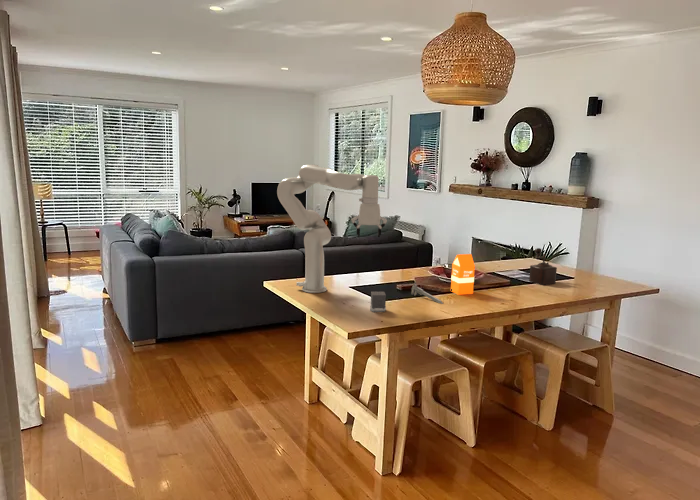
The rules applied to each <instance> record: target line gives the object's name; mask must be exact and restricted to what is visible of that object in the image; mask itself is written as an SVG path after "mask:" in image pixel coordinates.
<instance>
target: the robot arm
mask: <svg viewBox="0 0 700 500" xmlns="http://www.w3.org/2000/svg"><path fill="white" fill-rule="evenodd" d="M379 180H380V179H379V176H378V175H376V174H361V173H351V174H350V173H344V172H338V171H335V170H334V169H332V168H329V167H323V166H319V164H318V165H317V164H305V165H302V166H301V167H300V168H299V171H298V176H294V177H286V178H284V179H282V180H281V181H280V182H279V183H278V186H277V190H276V194H277V198H278V200H279V202H280V204H281V205H282V207H283V208H284V210H285V211H286V212H287V214H288V215H289V217H290V218H291V220H292V221H293V223H294V225H295V226H296V228H298V229H299V230H300V231H301V230H302V231H305V230H307V232H306V233H305V235H304V237H303V246H304V254H305V255H304V256H305V257H304V259H305V264H304V265H305V268H304V269H305V272H304V273H305V276H304V278H305V279H304V281H296V284H295V285H296V286H298V287H302V288H301V290H302V291H303V292H305V293H309V294H310V293H311V294H320V293H325V292H326V291H327V290H328V288H327V286H325V252H324V248H323V247H324V246H326V245H328V244H329V243H330V242H331V240H332V232H331V230H330V228H329V227H328V226H327V224H326V223H325V221H324V219H323V218H322V217H321V215H320V214H319V213H318V212H317V211H316V210H313V209H306V208H305V207H304V205H303V203H302V202H301V200H299V198H298V197H296V196H295V195H296V194H302V193H304V192H305V191H307V190H308V189H310V188H311V187H313V186H314V185H315V184H316V185H322V186H326V187H330V188H331V187H332V188H335V189H339V190H344V191H355V190H356V191H357V190H362V192H361V193H362V197H361V198H358V202H361V203H360V205H359V211H358V212H359V213H358V215H356V216H355V217H352V218H351V219H350V221H351V223H352V225H353V226H354V227H355V228H356V236H357V237H358V238H359V237H360V236H361V234H360V233H361V228H360V227H361V226H377V227H378V228H377V238H380V236H381V235H382V229H383V228H384V227H385V225H386V224H387V222H388V219H386V218H385V217H383V216H382V215H381V206H380V204H379V203H378V202H379ZM357 220H358V223H356V221H357ZM381 221H383V223H381Z"/></svg>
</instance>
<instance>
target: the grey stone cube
mask: <svg viewBox="0 0 700 500" xmlns="http://www.w3.org/2000/svg"><path fill="white" fill-rule="evenodd" d="M386 296H387V295H386V292H385V291H370V306H371V307H372V308H385V306H386V298H387V297H386Z"/></svg>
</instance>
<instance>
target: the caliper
mask: <svg viewBox="0 0 700 500" xmlns="http://www.w3.org/2000/svg"><path fill="white" fill-rule="evenodd" d="M411 295H412V296H417V295H420V296H425V297H427V298H428V299H431V300H432V301H433V302H436V303H438V304H441V305H443V304H444V302H443V301H442V300H441V299H439V298H438V297H435V296H433V295H432V294H430V293H428V292H426V291H425V290H424V289H422V288H421V287H419V286H418V284H416V283H413V285H412V287H411Z"/></svg>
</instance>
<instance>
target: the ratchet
mask: <svg viewBox="0 0 700 500" xmlns="http://www.w3.org/2000/svg"><path fill="white" fill-rule="evenodd" d="M369 310H370V312H371V311H372V312H371V313H375V312H383V313H385V312H387V311H386V310H387V306H386V305H385V308H372V307H371V305H370V309H369Z"/></svg>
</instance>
